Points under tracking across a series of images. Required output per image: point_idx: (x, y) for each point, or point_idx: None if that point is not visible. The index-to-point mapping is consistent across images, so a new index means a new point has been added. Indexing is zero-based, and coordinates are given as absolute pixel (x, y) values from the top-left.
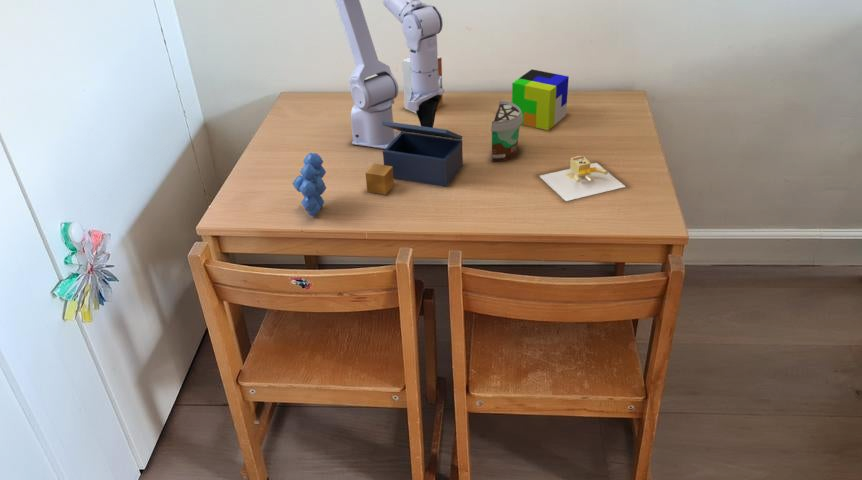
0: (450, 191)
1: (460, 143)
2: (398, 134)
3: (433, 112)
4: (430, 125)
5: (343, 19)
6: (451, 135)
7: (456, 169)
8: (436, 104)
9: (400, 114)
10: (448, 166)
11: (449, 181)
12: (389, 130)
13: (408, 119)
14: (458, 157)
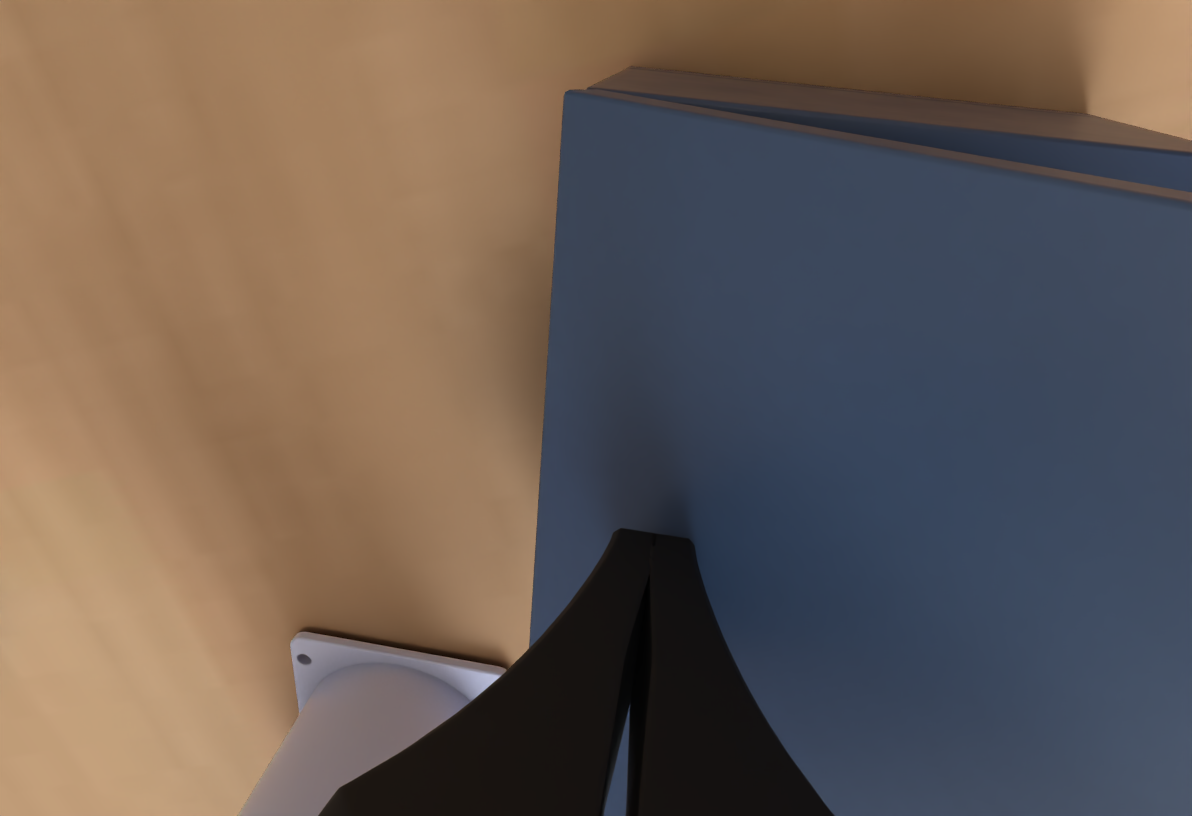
0: (1188, 53)
1: (666, 93)
2: (307, 649)
3: (679, 713)
4: (701, 587)
5: None
6: (1145, 187)
7: (817, 88)
8: (600, 807)
9: (42, 672)
10: (1123, 132)
11: (1024, 108)
12: (396, 747)
13: (74, 623)
14: (754, 89)
